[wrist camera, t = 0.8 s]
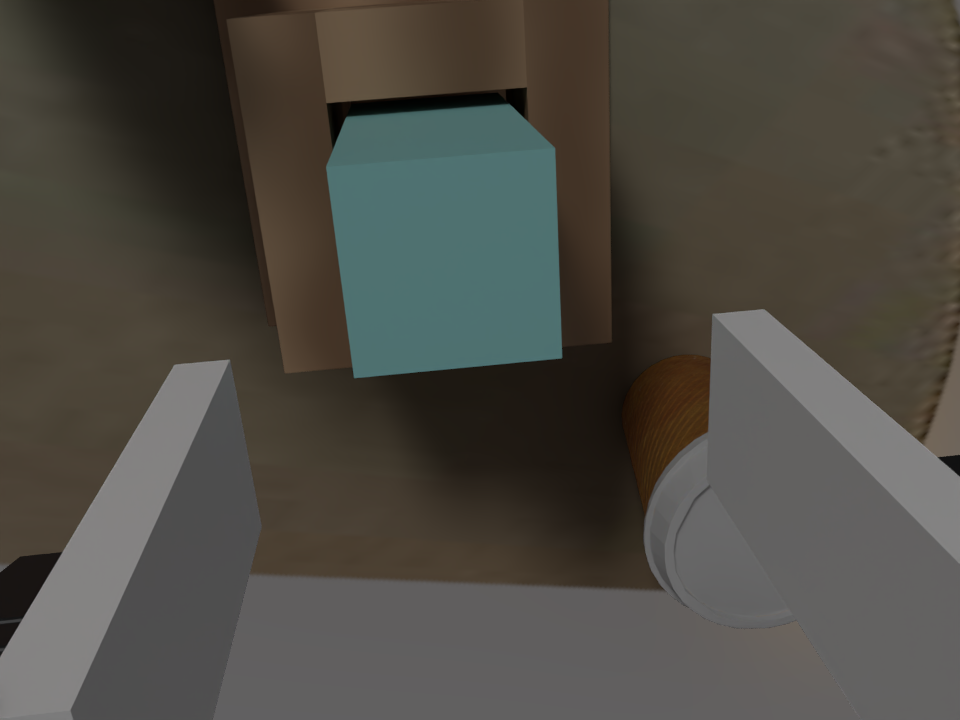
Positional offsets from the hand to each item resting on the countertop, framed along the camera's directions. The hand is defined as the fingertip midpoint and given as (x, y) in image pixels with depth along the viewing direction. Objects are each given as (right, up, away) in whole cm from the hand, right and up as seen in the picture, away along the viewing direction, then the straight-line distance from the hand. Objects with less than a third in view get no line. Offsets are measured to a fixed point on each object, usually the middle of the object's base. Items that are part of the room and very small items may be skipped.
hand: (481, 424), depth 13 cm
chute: (-3, +11, +27) cm, 29 cm away
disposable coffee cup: (+10, -2, +33) cm, 35 cm away
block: (-2, +8, +18) cm, 20 cm away
